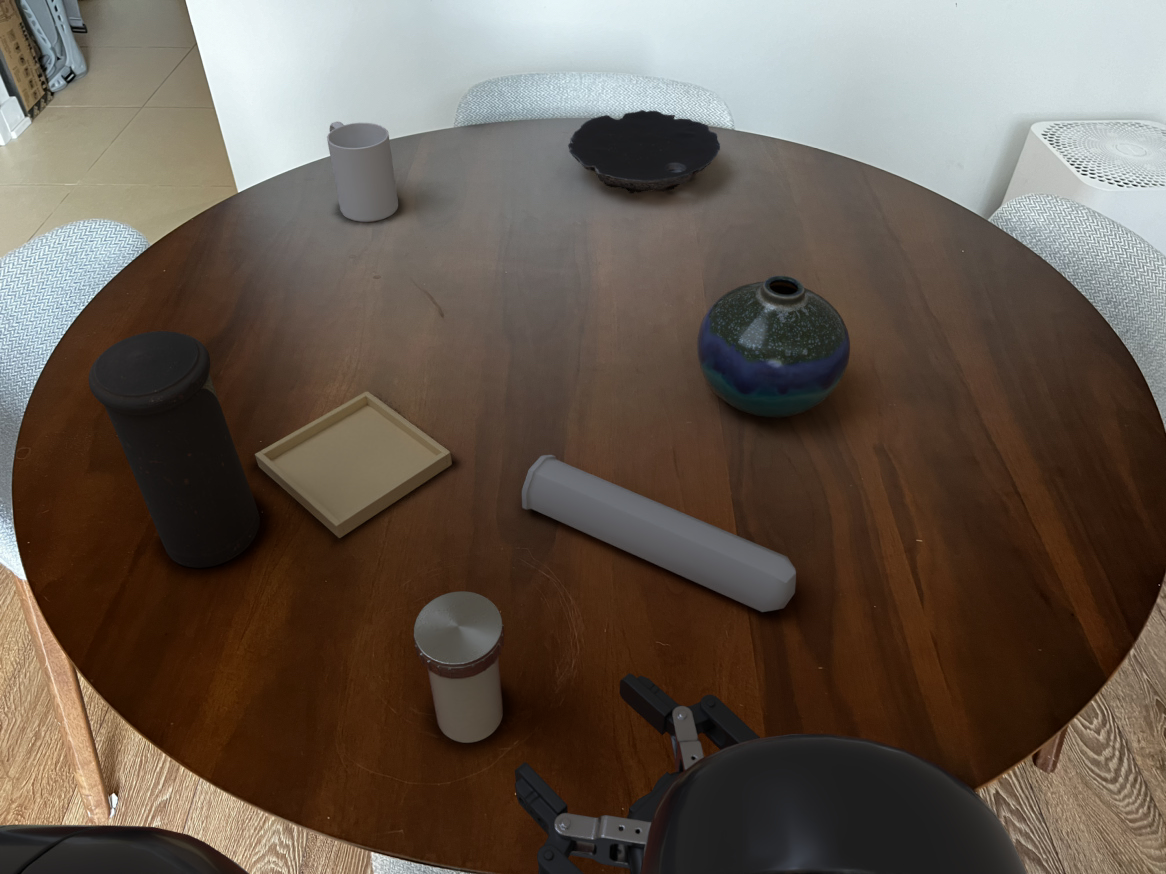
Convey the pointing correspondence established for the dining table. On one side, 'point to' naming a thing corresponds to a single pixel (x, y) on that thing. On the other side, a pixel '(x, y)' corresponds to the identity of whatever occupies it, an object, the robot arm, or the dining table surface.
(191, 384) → the container
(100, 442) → the dining table surface
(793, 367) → the vase
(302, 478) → the tray
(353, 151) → the mug
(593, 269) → the dining table surface
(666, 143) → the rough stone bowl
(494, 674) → the jar
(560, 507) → the tube
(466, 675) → the lid
